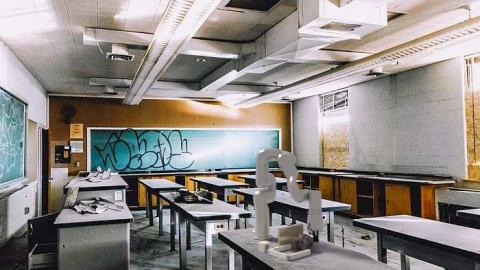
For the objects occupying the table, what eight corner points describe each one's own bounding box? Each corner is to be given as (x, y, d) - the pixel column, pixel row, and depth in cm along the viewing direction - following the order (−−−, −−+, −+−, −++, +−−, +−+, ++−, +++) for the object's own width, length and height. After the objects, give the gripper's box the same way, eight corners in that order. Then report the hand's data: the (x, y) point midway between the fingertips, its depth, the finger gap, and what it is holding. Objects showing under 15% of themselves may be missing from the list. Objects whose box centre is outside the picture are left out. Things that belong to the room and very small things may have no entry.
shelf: (275, 247, 227) (275, 227, 227) (299, 242, 239) (298, 223, 239) (282, 250, 222) (282, 229, 223) (306, 244, 234) (305, 224, 235)
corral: (267, 253, 216) (267, 249, 216) (289, 248, 226) (289, 243, 226) (288, 260, 202) (288, 255, 202) (310, 254, 213) (310, 249, 213)
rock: (302, 255, 216) (317, 252, 220) (303, 240, 215) (318, 238, 219) (292, 247, 226) (306, 244, 231) (292, 233, 225) (306, 231, 229)
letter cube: (258, 250, 222) (258, 242, 222) (264, 249, 225) (264, 240, 225) (264, 252, 218) (263, 244, 218) (270, 251, 221) (270, 242, 221)
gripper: (318, 208, 236) (319, 238, 236) (302, 211, 227) (302, 242, 226) (328, 210, 230) (329, 240, 230) (311, 213, 221) (312, 245, 221)
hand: (315, 241), depth 228 cm, fingers closed
